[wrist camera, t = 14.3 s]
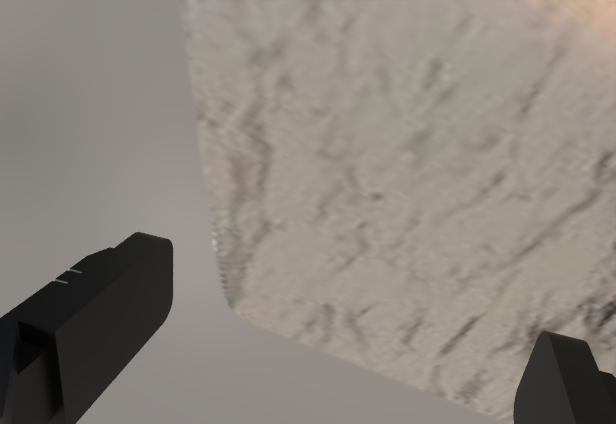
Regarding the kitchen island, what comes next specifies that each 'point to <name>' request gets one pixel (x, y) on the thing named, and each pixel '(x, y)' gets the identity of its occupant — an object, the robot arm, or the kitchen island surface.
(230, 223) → the kitchen island surface
